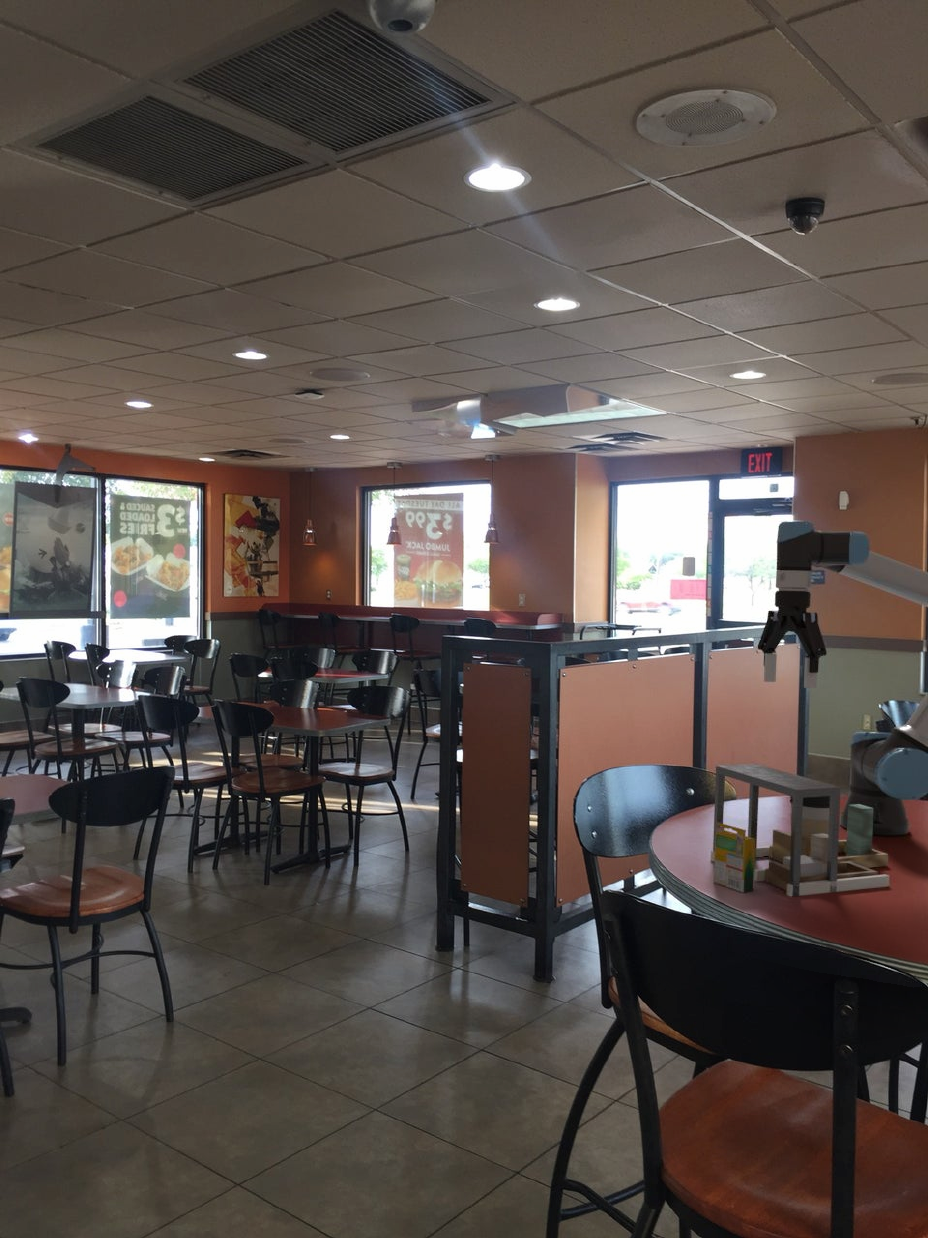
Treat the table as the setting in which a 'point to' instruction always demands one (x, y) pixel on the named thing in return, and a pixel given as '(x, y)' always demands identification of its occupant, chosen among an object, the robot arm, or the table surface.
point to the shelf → (798, 790)
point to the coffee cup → (814, 816)
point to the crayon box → (734, 858)
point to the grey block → (807, 866)
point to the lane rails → (824, 885)
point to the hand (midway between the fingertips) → (789, 684)
